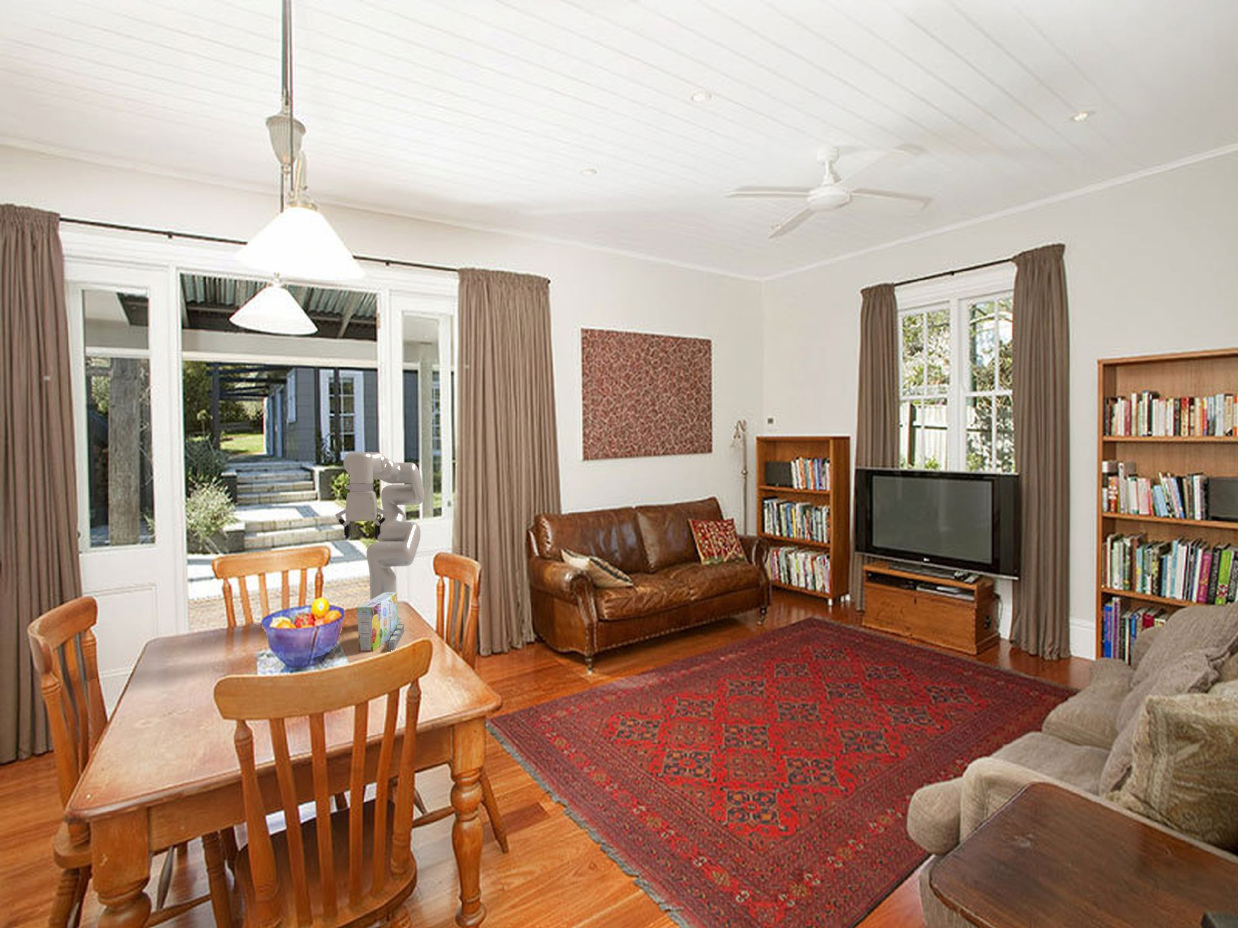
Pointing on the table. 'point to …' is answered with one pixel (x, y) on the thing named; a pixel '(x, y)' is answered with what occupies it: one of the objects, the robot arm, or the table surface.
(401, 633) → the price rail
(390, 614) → the snack box
